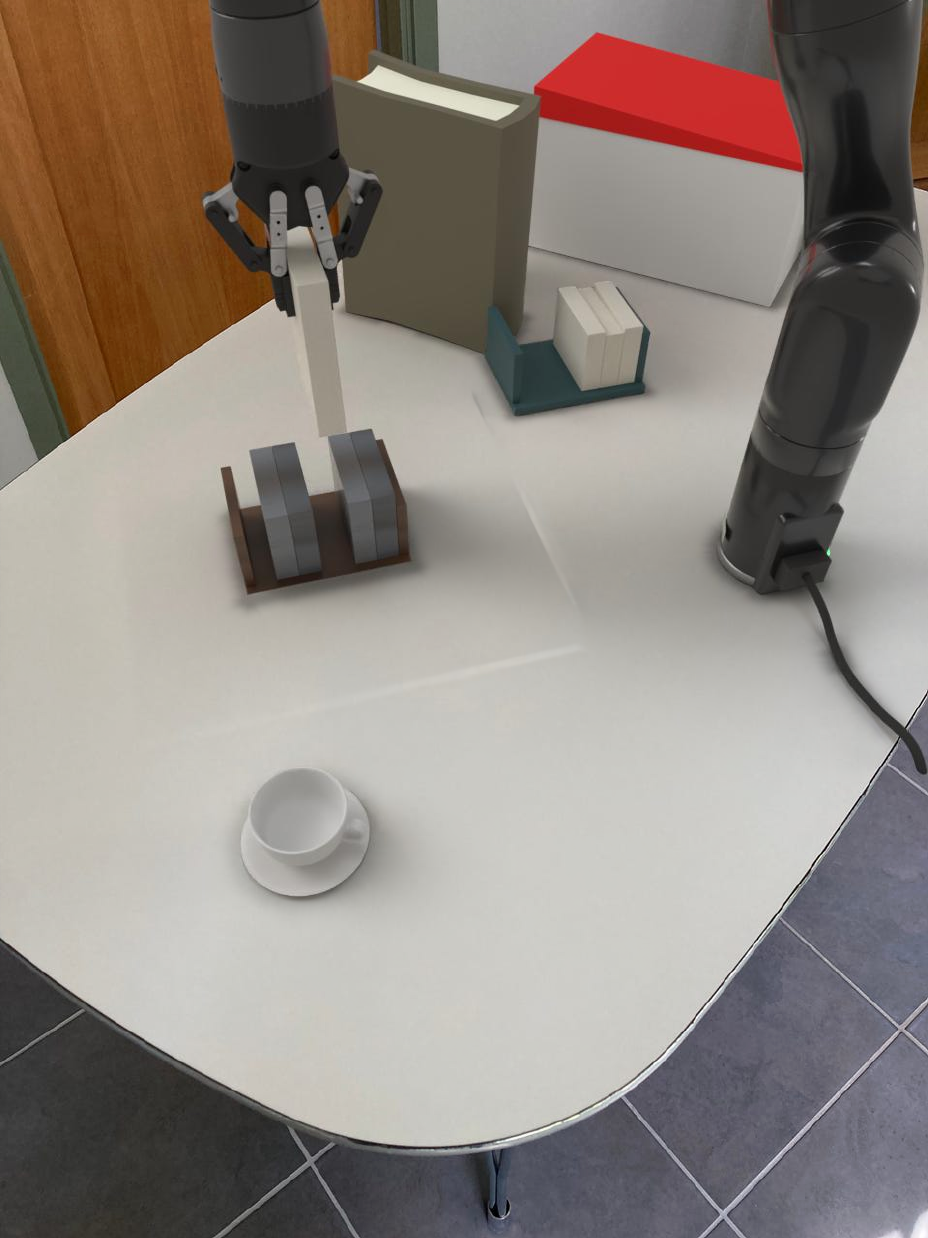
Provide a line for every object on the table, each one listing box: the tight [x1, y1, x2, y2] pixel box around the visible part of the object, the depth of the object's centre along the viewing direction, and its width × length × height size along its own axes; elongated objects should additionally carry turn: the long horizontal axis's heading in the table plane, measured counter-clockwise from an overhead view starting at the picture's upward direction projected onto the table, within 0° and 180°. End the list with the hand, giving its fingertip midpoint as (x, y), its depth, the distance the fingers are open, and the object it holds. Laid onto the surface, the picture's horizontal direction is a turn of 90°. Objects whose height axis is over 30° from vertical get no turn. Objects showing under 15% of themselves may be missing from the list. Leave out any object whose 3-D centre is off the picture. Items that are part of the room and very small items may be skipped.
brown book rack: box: [220, 428, 413, 595], centre depth 92 cm, size 12×16×9 cm
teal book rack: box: [484, 280, 651, 417], centre depth 111 cm, size 12×16×8 cm
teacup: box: [240, 765, 371, 897], centre depth 73 cm, size 10×10×5 cm
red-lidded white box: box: [528, 31, 804, 308], centre depth 127 cm, size 21×35×21 cm, turn 63°
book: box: [332, 49, 541, 355], centre depth 112 cm, size 22×9×28 cm, turn 62°
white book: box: [286, 226, 348, 438], centre depth 79 cm, size 10×2×14 cm, turn 16°
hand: (309, 307), depth 77 cm, fingers closed on white book, 2 cm apart
